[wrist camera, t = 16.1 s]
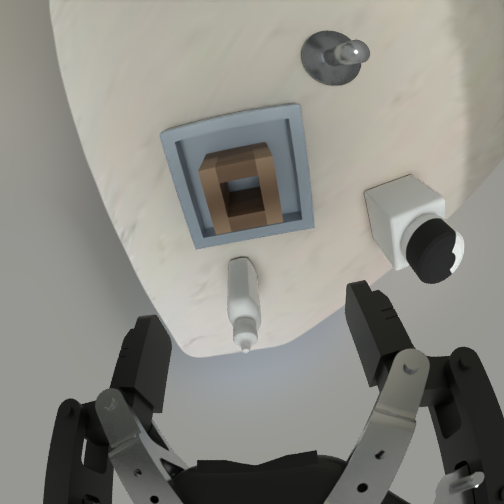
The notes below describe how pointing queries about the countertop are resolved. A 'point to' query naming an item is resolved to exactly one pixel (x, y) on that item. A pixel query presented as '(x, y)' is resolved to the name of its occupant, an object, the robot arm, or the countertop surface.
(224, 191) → the block
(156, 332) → the robot arm
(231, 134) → the tray
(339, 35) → the grey metal coffee tamper
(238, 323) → the eye dropper bottle
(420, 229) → the medicine bottle
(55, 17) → the countertop surface
